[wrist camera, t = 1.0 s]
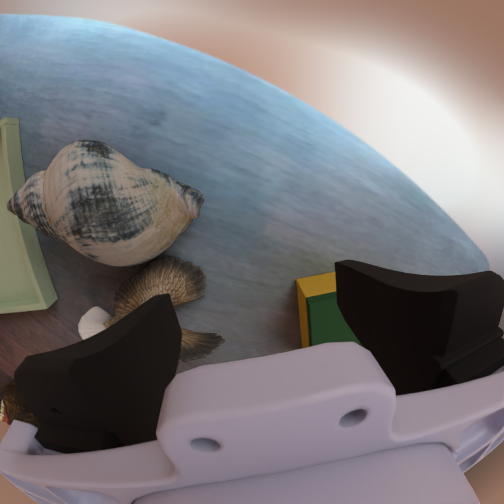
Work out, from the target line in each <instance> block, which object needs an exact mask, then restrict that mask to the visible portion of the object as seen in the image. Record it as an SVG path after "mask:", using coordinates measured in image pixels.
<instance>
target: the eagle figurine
mask: <svg viewBox="0 0 504 504" xmlns="http://www.w3.org/2000/svg"><path fill="white" fill-rule="evenodd" d="M205 278H206V275H205V274H203V273H202V268H200V267H194V264H193V263H192V262H185V263H182V259H180V258H179V259H176V260H174V258H173V257H169V258H163V259H157V260H156V261H155V262H150V263H149V265H148V266H146V267H144V268H143V269H141V270H140V271H139V273H137V274H135V275H134V276H132V277H131V278H130V280H126V281H125V282H123V283H122V285H121V286H120V287H119V290H118V291H117V292H116V296H115V305H114V306H115V310H114V316H111V315H110V314H109V313H107V312H106V311H104V310H103V309H101V308H100V307H97V306H96V307H93V308H91V309H89V311H88V312H87V313H86V314H85V315H83V316H82V317H81V320H80V322H79V324H78V329H79V330H78V332H79V334H80V336H81V338H82V339H83V340H84V339H87V338H89V337H91V336H93V335H95V334H97V333H99V332H101V331H103V330H104V329H106V328H108V327H109V326H111V325H113V324H114V323H116V322H117V321H119V320H120V319H122V318H123V317H124V316H126V315H127V314H129V313H130V312H132V311H133V310H134V309H136V308H137V307H138V306H140V305H141V304H142V303H144V302H145V301H147V300H148V299H150V298H151V297H153V296H155V295H159V294H166V293H169V294H170V297H171V300H172V303H173V306H174V307H175V306H177V305H179V304H181V303H185V302H188V301H191V300H194V299H198V298H200V297H202V296H204V294H205V292H204V291H203V290H204V289H205V287H206V283H205V282H204V280H205ZM181 330H182V343H181V352H180V356H179V361H178V363H180V362H181V361H183V362H187V361H189V360H196V359H199V358H205V357H206V355H209V354H211V353H213V351H214V350H216V349H218V348H220V344H222V343H224V342H225V339H222V336H217V333H201V332H194V331H191V330H187V329H183V328H181Z"/></svg>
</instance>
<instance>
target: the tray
mask: <svg viewBox="0 0 504 504" xmlns="http://www.w3.org/2000/svg"><path fill="white" fill-rule="evenodd" d="M25 183H26V182H25V176H24V169H23V161H22V153H21V142H20V129H19V119H17V118H16V119H15V118H6V117H5V118H3V119H2V120H0V314H3V313H13V312H23V311H33V310H42V309H48V308H49V307H50V306H51V305H52V304H53V303H54V302H55V301H56V300H57V299H58V297H57V294H56V292H55V289H54V286H53V284H52V281H51V278H50V275H49V272H48V270H47V267H46V263H45V260H44V257H43V254H42V251H41V247H40V244H39V240H38V237H37V233H36V229H35V227H33V226H31V225H30V224H27V223H24V222H23V221H21V220H20V219H19V218H18V216H17V215H14V214H13V213H12V212H10V211H8V210H7V203H8V202H9V200H10V199H11V198H12V197H13V196H14V194H15V193H16V191H17V190H19V189H21V188H23V186H24V184H25Z"/></svg>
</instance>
